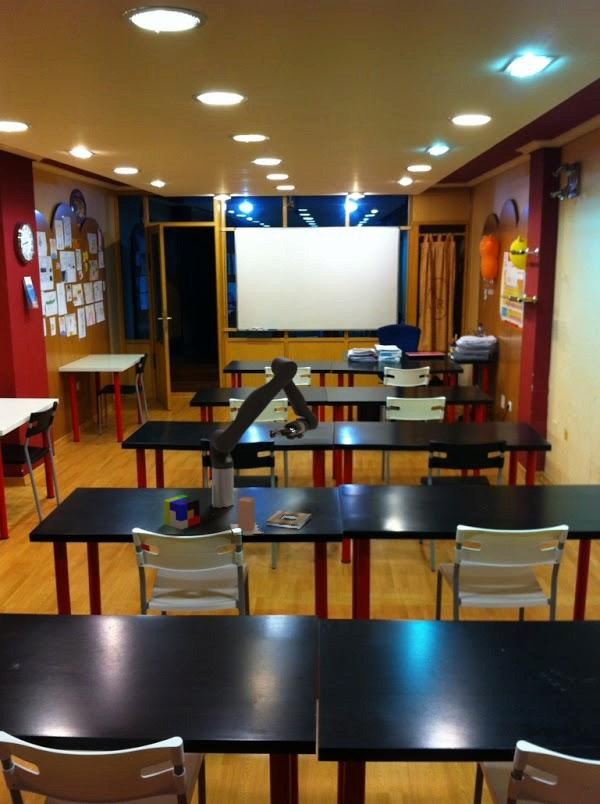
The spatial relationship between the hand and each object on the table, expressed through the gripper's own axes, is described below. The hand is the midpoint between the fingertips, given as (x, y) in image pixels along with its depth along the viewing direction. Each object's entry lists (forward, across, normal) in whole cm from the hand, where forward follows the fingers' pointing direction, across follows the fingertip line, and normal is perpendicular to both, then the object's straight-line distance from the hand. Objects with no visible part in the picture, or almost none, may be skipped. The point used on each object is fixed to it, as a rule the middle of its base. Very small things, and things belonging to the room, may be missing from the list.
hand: (280, 436), depth 301 cm
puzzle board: (+14, +10, +32) cm, 36 cm away
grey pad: (+30, -2, +32) cm, 44 cm away
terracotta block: (+30, -3, +31) cm, 43 cm away
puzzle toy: (+32, -30, +32) cm, 54 cm away
